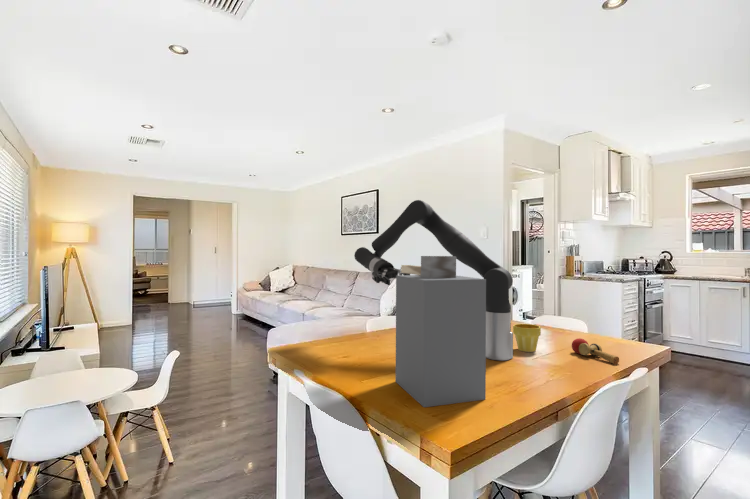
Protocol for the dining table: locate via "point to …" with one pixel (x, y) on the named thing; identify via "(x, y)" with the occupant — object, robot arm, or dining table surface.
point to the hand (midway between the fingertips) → (399, 280)
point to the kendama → (592, 350)
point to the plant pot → (527, 336)
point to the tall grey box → (441, 338)
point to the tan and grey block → (433, 267)
